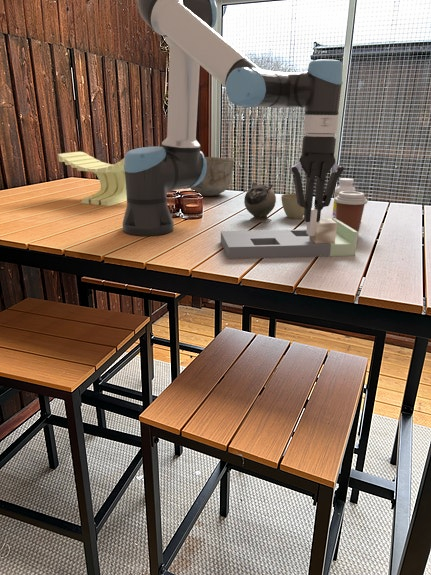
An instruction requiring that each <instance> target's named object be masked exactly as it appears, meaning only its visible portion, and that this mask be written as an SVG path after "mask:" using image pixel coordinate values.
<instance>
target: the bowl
mask: <svg viewBox="0 0 431 575" xmlns="http://www.w3.org/2000/svg"><path fill="white" fill-rule="evenodd" d="M204 158H205V159H206V162H207V170H206V174H205V177H204V179H203V180H202V181H201V182H200V183H199V184H198V185H196V186H194V187H191V188H189V189H190V190H191V191H193V190H195V191H197V192H199V193H200V194H202V195H201V196H203V197H204V196H205V197H212V196H216V195H220V194H222V193H224V192H225V191H226V190H227V189H228V188H229V187H230V185H231V182H232V179H233V169H234V164H235V158H225V157H215V156H204ZM200 194H199V195H200Z"/></svg>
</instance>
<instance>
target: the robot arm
mask: <svg viewBox="0 0 431 575" xmlns="http://www.w3.org/2000/svg"><path fill="white" fill-rule="evenodd" d="M136 2H137V10H138V12H139V14H140V16H141V19H142V20H143V21H144V22H145V24H146V25H147V26H149V28H150V29H152V30H153V31H154V32H155V33H156V34H158V35H160V36H163V37H164V41H165V42H166V43H167V44H168V47H169V51H168V52H169V53H168V54H169V55H168V58H169V59H168V61H169V62H168V89H167V91H168V92H167V93H168V95H167V97H168V98H167V100H168V101H167V126H166V127H167V133H166V138H165V139H164V140H163V141H162V142H161V146H156V145H155V146H145V147H139V148H134V149H130V150H128V151H127V152H126V153H125V155H124V170H125V180H126V194H127V201H126V208H125V211H124V216H123V218H122V219H123V220H122V231H123V232H124V233H125V234H128V235H131V236H141V237H142V236H143V237H146V236H149V237H150V236H161V235H165V234H169V233H171V232H172V231H174V224H175V222H174V219H173V217H172V214H171V211H170V207H169V206H168V193H167V192H170V191H176V190H177V191H179V190H187V189H190V188H191V187H194V186H196V185H198V184H199V183H200V182H201V181H202V180H203V179H204V177H205V174H206V170H207V162H206V159H205V158H204V157H205V154H204V153H203V151H201V144H200V143H199V141H198V140H197V125H198V124H197V122H198V106H199V88H200V87H199V85H200V68H201V67H202V69H204V70H206V72H208V73H209V74H210V75H211V76H212V77H213V78H214V79H215V80H217V82H219V83H220V84H221V85H223V87H225V92H226V95H227V98H228V100H229V102H231V103H232V104H233V105H235V106H238V107H242V108H248V109H249V108H272V109H283V108H285V109H287V108H290V109H291V108H304V121H303V131H302V132H303V134H305V136H303V137H302V144H301V145H302V146H301V156H300V157H299V160H298V162H297V163H296V164H294V165H290V166H289V171H290V172H291V175H292V179H293V183H294V190H295V194H296V197H297V203H298V205H300V206H301V207H304V209H305V210H304V216H303V220H304V222H305V223H306V228H305V229H306V233H307V234H308V235H309V236H315V230H316V222H319V221H320V219H321V214H322V210H324V208H325V207H329V206H330V204H331V201H332V198H333V196H334V194H335V189H336V187H337V183H338V182H339V179H340V178H339V177H340V176H341V174H342V173H343V172H344V171H345V168H344V166H342V165H339V164H338V163H337V162H336V157H335V150H336V142H337V138H336V136H334V135H336V134H337V132H338V122H339V109H340V103H341V102H340V101H341V96H342V94H341V93H342V86H343V74H344V73H343V71H344V67H343V66H344V64H343V63H342V62H341V61H340V60H338V59H337V60H336V59H316V60H311V61H310V62H309V64H308V67H307V71H301V72H300V71H298V72H283V71H273V70H268V69H262V68H260V67H259V66H257V65H256V64H255V63H253V62H252V61H251V60H250V59H249V58H248V57H247V56H245V54H243V53H242V52H241V51H239V50H238V49H237V47H235V46H233V45H232V44H231V43H230V42H228V41H227V40H226V39H225V38H224V37H222V36H221V35H220V34H219V33H218V32H216V31H215V30H214V29H213V28H215V26H216V23H217V19H218V8H217V3H216V0H136ZM302 170H303V172H304V173H305V179H306V180H305V181H306V182H305V192H304V189H303V183H302V182H303V181H302V176H301V172H302ZM330 171H331V173H330V176H329V179H328V181H327V184H326V187H325V181H326V178H327V175H328V173H329V172H330ZM315 181H316V184H315ZM314 189H315V195H314ZM304 193H305V194H304ZM304 195H305V200H304ZM313 199H314V203H313ZM313 204H314V207H313Z"/></svg>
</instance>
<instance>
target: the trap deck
mask: <svg viewBox="0 0 431 575" xmlns="http://www.w3.org/2000/svg"><path fill="white" fill-rule="evenodd" d="M331 219H332V220H333V221H335V222H336V223H337V230H336V239H335V243H315V242H314V241H312V240H311V239H310V238H309V237H310V236H309V235H308V234H307V233H306V229H307V228H305V229H265V230H264V229H261V230H257V229H256V230H221V231H220V244H221V246H222V248H223V251H224V253H225V255H226V257H227V259H228V260H239V259H242V260H244V259H276V258H277V259H279V258H310V257H311V258H313V257H315V258H316V257H345V256H356V250H357V242H358V235H359V232H357V231H356V230H354V229H352V228H351V227H349V226H347V225H346V224H344V223H343V222H341V221H339V220H338V219H336V218H334V217H333V218H332V217H331Z"/></svg>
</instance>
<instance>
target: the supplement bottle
mask: <svg viewBox="0 0 431 575" xmlns="http://www.w3.org/2000/svg"><path fill="white" fill-rule="evenodd" d="M353 185H354V178H348V177H347V178H346V177H344V178H343V177H342V178H341V177H340V178H338V186H336V187H335V190H334V194H333V196H334V197H333V206H332V217H333V218H336V202H335V201H334V199H335V198H336V197H337V196H338V195H339V192H341V191H356V190H357V189H356V188H355V187H354V186H353ZM356 192H357V191H356Z"/></svg>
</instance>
